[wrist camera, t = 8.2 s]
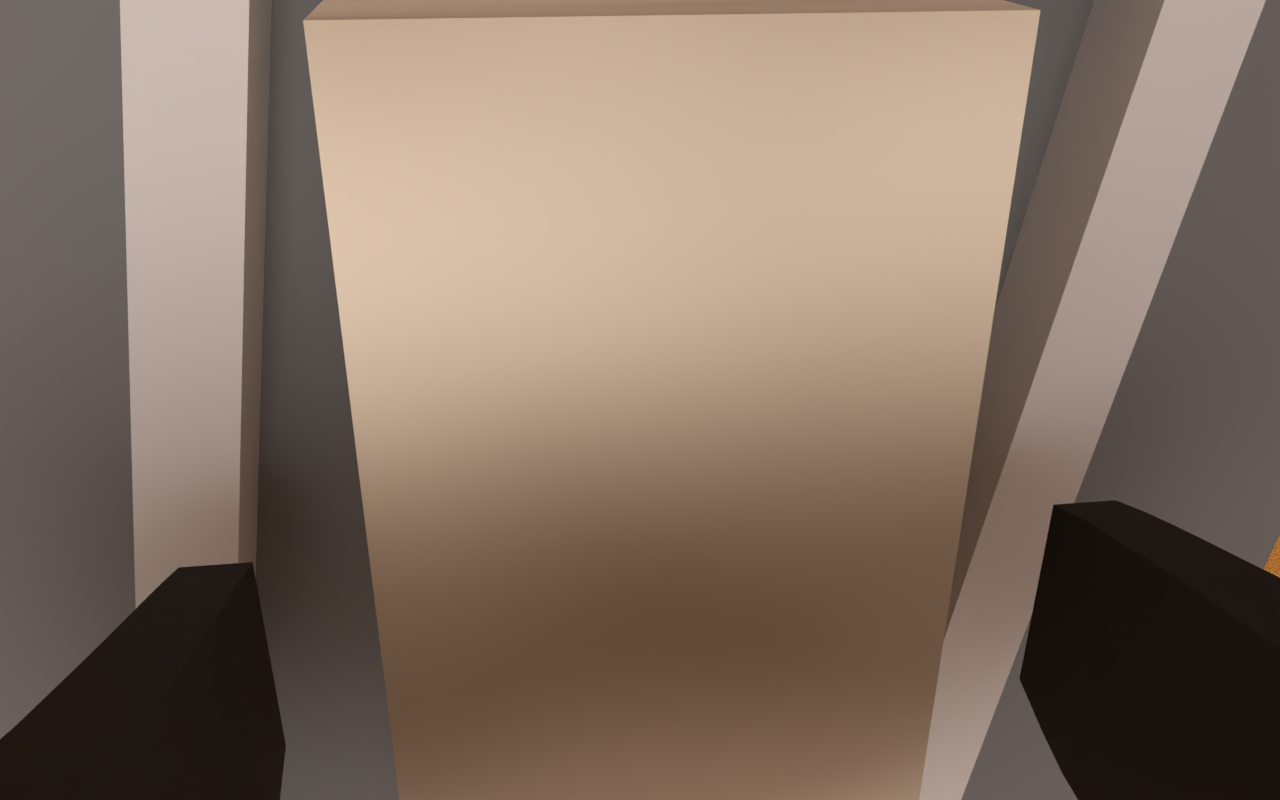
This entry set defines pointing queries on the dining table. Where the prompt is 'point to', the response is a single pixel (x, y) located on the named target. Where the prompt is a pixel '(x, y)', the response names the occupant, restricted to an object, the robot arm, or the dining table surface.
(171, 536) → the mat
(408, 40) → the beige oblong block
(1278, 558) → the dining table surface
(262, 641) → the robot arm
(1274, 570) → the dining table surface
